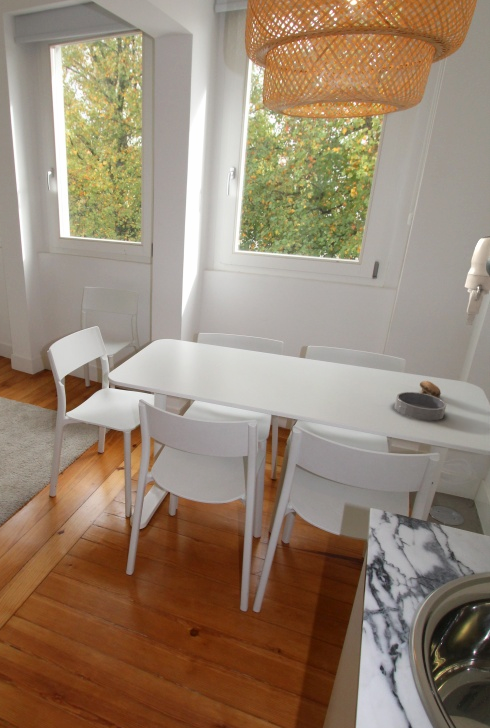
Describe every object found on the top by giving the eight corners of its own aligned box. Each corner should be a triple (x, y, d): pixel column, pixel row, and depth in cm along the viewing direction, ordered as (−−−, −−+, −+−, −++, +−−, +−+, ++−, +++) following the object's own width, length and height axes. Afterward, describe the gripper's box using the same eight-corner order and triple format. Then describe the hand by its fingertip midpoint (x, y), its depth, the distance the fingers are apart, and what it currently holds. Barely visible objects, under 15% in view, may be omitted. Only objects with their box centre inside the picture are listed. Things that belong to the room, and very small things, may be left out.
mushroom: (415, 390, 175) (427, 377, 174) (411, 390, 183) (423, 378, 182) (433, 404, 173) (446, 391, 172) (428, 403, 181) (441, 391, 180)
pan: (444, 410, 167) (447, 398, 165) (440, 425, 155) (444, 413, 154) (398, 399, 175) (400, 388, 173) (390, 413, 163) (393, 402, 162)
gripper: (491, 288, 154) (479, 329, 159) (491, 280, 170) (481, 318, 175) (468, 286, 157) (457, 326, 162) (471, 278, 173) (461, 315, 178)
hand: (469, 321), depth 169 cm, fingers open, 8 cm apart
